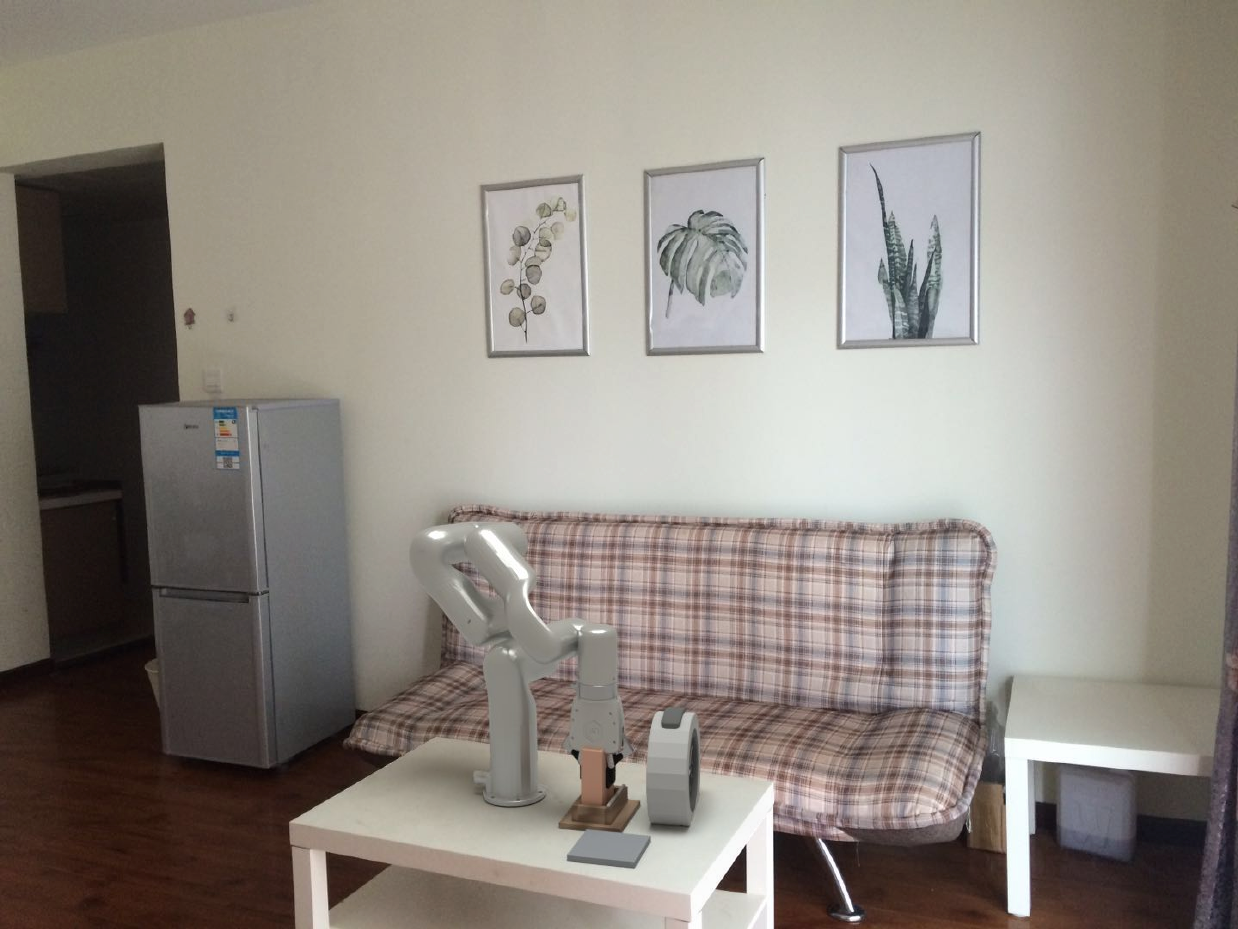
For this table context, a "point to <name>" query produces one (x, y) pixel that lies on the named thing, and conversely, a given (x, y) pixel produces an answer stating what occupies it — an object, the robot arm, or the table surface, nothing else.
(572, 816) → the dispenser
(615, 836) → the mat
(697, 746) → the alarm clock
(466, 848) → the table surface
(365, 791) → the table surface
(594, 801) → the salmon pink tall block
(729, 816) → the table surface
